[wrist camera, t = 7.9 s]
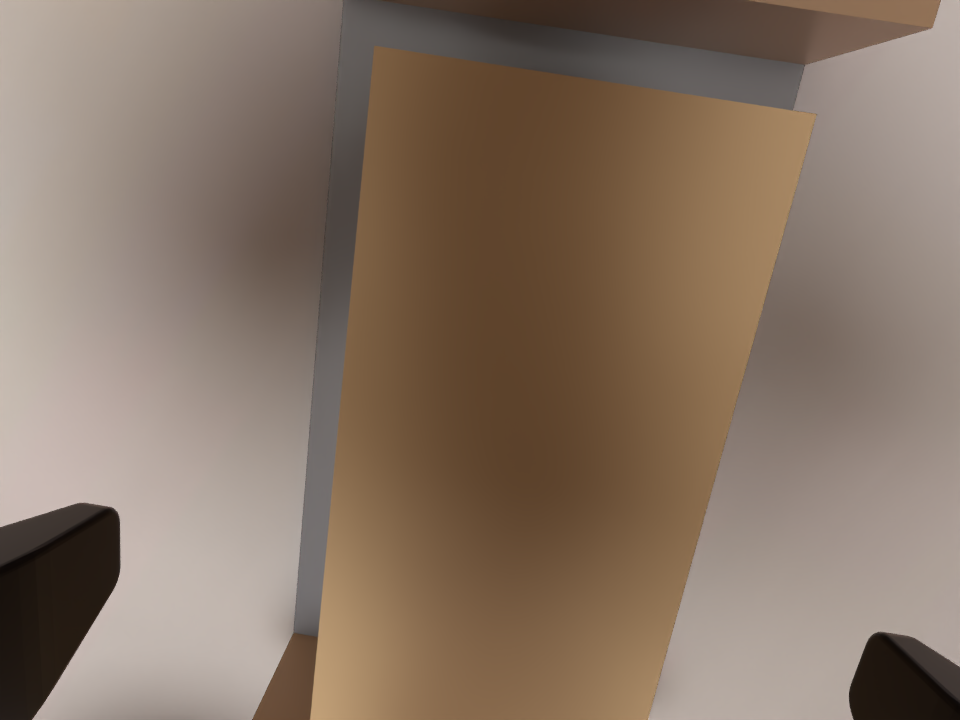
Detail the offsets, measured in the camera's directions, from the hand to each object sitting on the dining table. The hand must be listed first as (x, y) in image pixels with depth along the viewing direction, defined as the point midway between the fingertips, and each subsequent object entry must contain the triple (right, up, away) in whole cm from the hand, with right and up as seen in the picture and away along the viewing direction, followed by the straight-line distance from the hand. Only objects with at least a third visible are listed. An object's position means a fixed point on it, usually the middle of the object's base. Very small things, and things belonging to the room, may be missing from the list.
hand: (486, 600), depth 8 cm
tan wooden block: (+1, +2, +5) cm, 5 cm away
